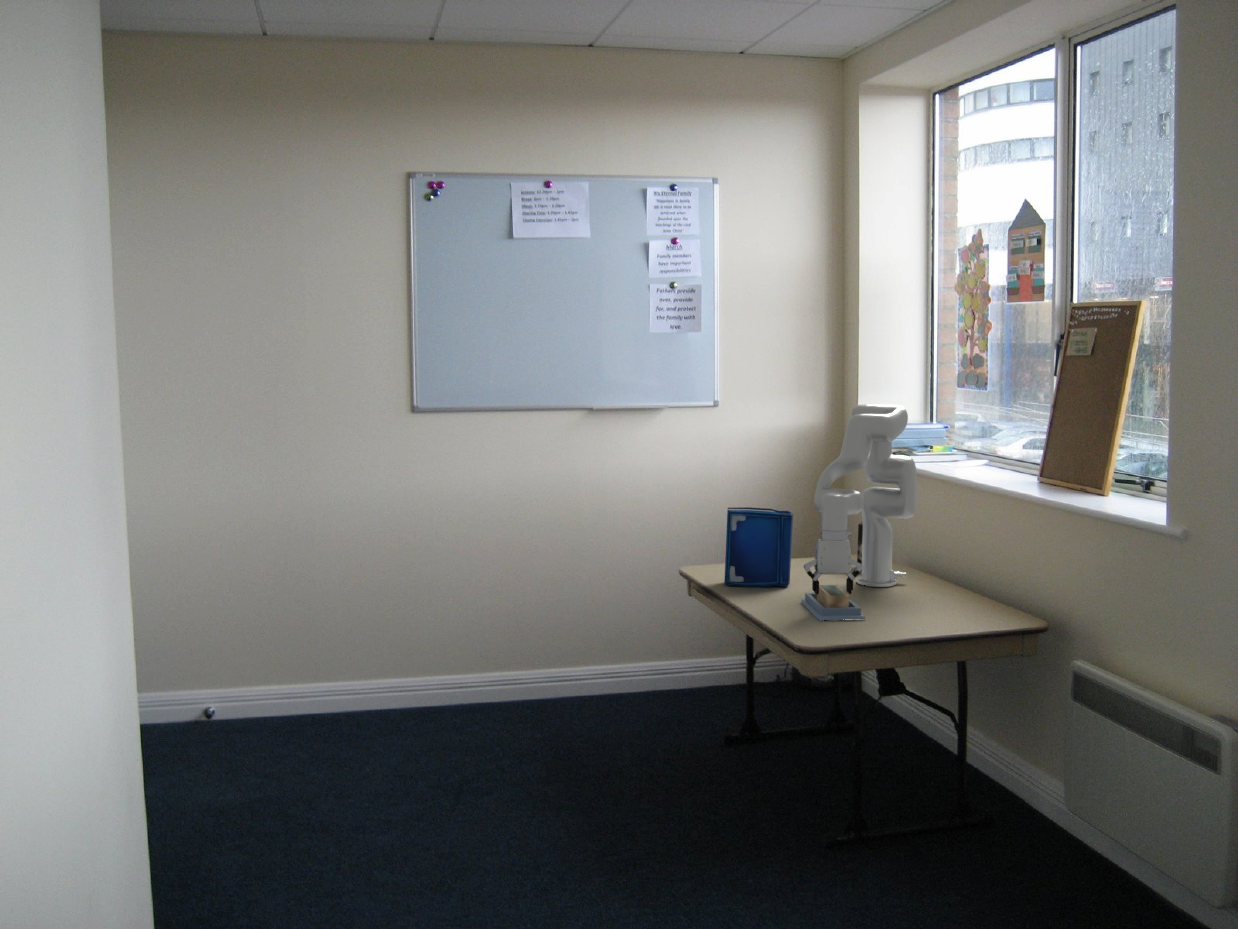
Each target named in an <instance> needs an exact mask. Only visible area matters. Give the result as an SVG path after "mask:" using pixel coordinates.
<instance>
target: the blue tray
mask: <svg viewBox="0 0 1238 929" xmlns="http://www.w3.org/2000/svg"><path fill="white" fill-rule="evenodd" d="M800 600H801V601H800V602H802V603H803V604H802V603H801V604H802V605H803V606H804V607H805V606H806V607H805V608H806V609H807V610H808V609H809V610H810V611H809V610H808V611H809V612H810V613H811V614H812V613H813V614H812V615H813V616H814V617H815V616H816V617H817V618H816V617H815V618H816V619H817V620H818V619H819V620H820V621H819V620H818V621H819V622H825V621H824V620H843V619H844V620H845V619H865V620H866V615H864V614H863V613H862V608H861V607H860V606H859V605H858V604H857V603H856V602H854V601H853V600H852V599H851V598H850V597H849V607H840V608H824V607H823V606H822V605H821V604H820V603H819V602H818V601H817V594H815V593H814V592H805V593H804V598H801V599H800ZM822 620H823V621H822Z"/></svg>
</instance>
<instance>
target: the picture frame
mask: <svg viewBox="0 0 1238 929" xmlns="http://www.w3.org/2000/svg"><path fill="white" fill-rule="evenodd" d="M849 598H850V594H849V593H847V592H845V591H844V590H843V589H842V588H841V587H840V586H839V585H837V584H819V594H817V601H818V602H819V603H820V604H821V605H822V606H823V607H824V608H840V607H849Z"/></svg>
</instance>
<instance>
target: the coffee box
mask: <svg viewBox="0 0 1238 929" xmlns="http://www.w3.org/2000/svg"><path fill="white" fill-rule="evenodd" d="M857 527H858V528H857V529H858V530H857V549H856V550H857V553H856V554H857V555H856V556H857V557H856V562H858V563H860V564H862V538H863V521H860V522H859V523H858V526H857ZM861 571H862V569H861Z"/></svg>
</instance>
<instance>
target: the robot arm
mask: <svg viewBox="0 0 1238 929" xmlns="http://www.w3.org/2000/svg"><path fill="white" fill-rule="evenodd" d="M850 414H851V417H850V418H849V419H848V423H847V424H846V429H845V433H844V437H843V441H842V447H841V450H840V454H839V456H838V457H837V458H836V459H835V460H833V461H832V462H831V463H829V465H827V467H826V468H825V469H824V470H823V471H822V472H821V473H820V476H819V478H818V480H817V486H816V488H815V493H814V498H813V502H814V503H813V504H814V508H815V509H816V510H817V511H818V512H819V513H821V514H820V538H818V539H817V541H816V545H815V552H814V553H815V554H814V559H813V560H811V561H809V562H806V563H805V564H803V569H804V570H805V573H806V574H807V575H808V576H809V577H810V579H812V580H811V581H812V584H811V585H812V591H813V593H815V594H819V585H820V580H819V579H820V577H821V576H822V575H846V576H847V578H846V583H845V590H846V593H847V594H848V595H851V594H852V592H853V591H854V580H855V581H856V583H857V584H859V585H861V586H864V585H865V587H871V588H873V587H874V588H890V587H893V586H895V585H896V584H897V579H899V578H900V579H906V578H907V572H905V571H896V570H894V569H892V568H893V561H892V560H893V537H894V536H893V535H894V534H893V532H894V530H893V527H892V525H891V523H890V522H889V521H888V519H887V518H893V519H905V520H906V519H911V518H913V517H914V515H915V513H916V511H917V467H916V463H915V460H914V459H913V458H912V457H910V456H908V455H899V454H894V453H893V448H892V447H893V446H892V445H893V444H892V442H893V441H894V440H896V439H897V438H898V437H899V436H900V435H901V434H902V433H903V432H904V431H905V429H906V427H907V425H908V422H909V421H908V420H909V413H908V412H907V409H906V408H905V406H902V405H898V404H878V403H877V404H873V403H871V404H870V403H865V404H863V403H861V404H857V405H855V406H854V407H852V409H851V413H850ZM863 468H864V473H865V479H866V480H867V481H868V482H870V483H873V484H878V485H890V486H891V485H892V486H898V488H896V487H895V488H894V487H886V486H885V487H883V486H870V487H867V488H865V489H864V490H863V491H862V492H860V491H859V490H858V491H857V490H855V489H847V488H846V489H844V488H836V487H835V488H834V487H831V486H832V485H833V483H834V482H835V481H836V480H838V479H840V478H841V477H844V476H845V475H847V474H851V473H853V472H856V471H859V470H862V469H863ZM860 512H861V516H862V522H863V538H862V564H860V563H858V562H857V560H854V559H852V551H851V544H850V543H851V542H850V540H849V539H848V538H849V537H851V536H853V532H852V530H849V529H848V516H856V515H858V514H860ZM852 565H853V566H855V569H854V570H853V571H852V568H853V567H852ZM812 567H814V568H813V569H814V572H812V571H811V568H812ZM861 569H862V570H861ZM860 573H861V576H859V575H860ZM858 576H859V577H858ZM856 577H857V578H856Z"/></svg>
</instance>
